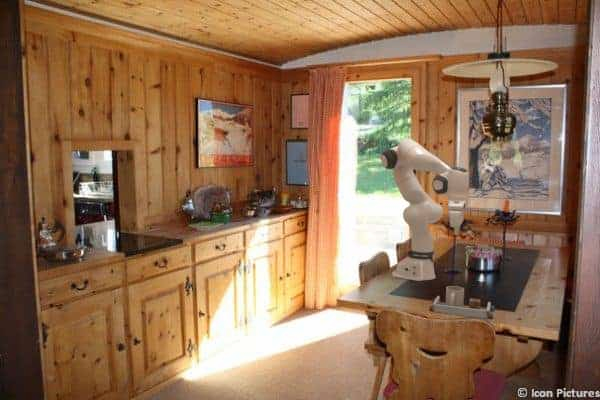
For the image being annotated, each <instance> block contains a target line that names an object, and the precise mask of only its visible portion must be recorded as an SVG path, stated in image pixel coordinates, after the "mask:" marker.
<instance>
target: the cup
mask: <svg viewBox="0 0 600 400" xmlns="http://www.w3.org/2000/svg"><path fill="white" fill-rule="evenodd" d="M464 298H465V288H464V287H461V286H458V285H449V286H446V289H445V305H446V306H454V307H462V308H464Z"/></svg>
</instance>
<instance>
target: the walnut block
mask: <svg viewBox="0 0 600 400" xmlns="http://www.w3.org/2000/svg"><path fill="white" fill-rule="evenodd" d="M468 308H470V309H478V310H481V299H477V298H471V297H470V299H469V303H468Z"/></svg>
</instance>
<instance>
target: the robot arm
mask: <svg viewBox="0 0 600 400" xmlns="http://www.w3.org/2000/svg"><path fill="white" fill-rule="evenodd" d="M380 161H381V164H382V166H383V168H385V169H387V170H392V171H391V173H392V176H393V179H394V182H395V185H396V187H397V189H398V191H399V192H400V194H401V197H402V198H403V200H404V201H406V202H407V203H409V204H410V205H409V206H407V207H405V208H404V209H403V212H402V217H403V220H404V222H405V223H406V224H407V225H408V227H409V230H410V236H411V248H408V250H407V256H405V258H403V259H402V260H400V261H399V262H398V263H397V265H396V269H395V270H393V271H392V272H391V276H392V277H393V278H399V279H405V280H410V281H417V282H421V281H430V280H434V279H436V274H435V268H434V261H435V250H434V241H435V239H434V235H433V234H432V232H430V229H429V224H434V223H436V222H438V221H440V220H441V219H443V216H444V209H443V207H442V205H440V204H439V203H438V202H436V201H435V200H433V199H432V198H431V196H430V195H428V193H427V192H426V191H425V190H424V188H423V187H422V185H421V183H420V182H419V180H418V178H417V176H416V173H414V171H413V169H414V170H416V171H420V172H431V173H434V174H437V175H435V176H434V178H433V179H432V183H431V186H432V190H433V191H434V193H435V194H436V195H440V196H447V206H446V207H447V209H448V211H449V226H450V228H453V230H454V231H453V232H454V233H453V235H455V236H458V235H459V234H460V228H461V225H462V224H463V222H464V215H465V212H466V209H468V208H469V193H468V192H469V190H470V188H471V180H470V176H469V172H468V169H467V168H464V167H459V166H453V167H452V166H451V165H450V164H448V163H447V162H445V161H444V160H442V159H441V158H439V157H437V156H436V155H434V154H433V153H431V152H430V151H428V150H427V149H426V148H424V146H422V144H420V143H418V142H417V141H415V140H414V139H412V138H404V139H403V140H401V141H400V143H399V144H398V145H397V146H396V145H395V146H394V147H391V148H387V149H385V150H384V151H382V152H381V154H380Z"/></svg>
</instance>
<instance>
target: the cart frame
mask: <svg viewBox="0 0 600 400" xmlns="http://www.w3.org/2000/svg"><path fill="white" fill-rule="evenodd" d="M440 299H441V298H440V295H437V296H436V298H433V300H432V305H429V308H428V309H429V311H432V312H434V313H442V314H449V315H457V316H462V317H463V316H464V317H471V318H479V319H485V320H486V319H487V320H490V319H494V314H493V313H494V311H495V305H491V304H492V302H490V301H488V302H487V306H486V310H484V309H480V310H478V309H470V308H469V307H463V308H462V307H454V306H446V304H440ZM491 311H492V312H493V313H492V312H491Z"/></svg>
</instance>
